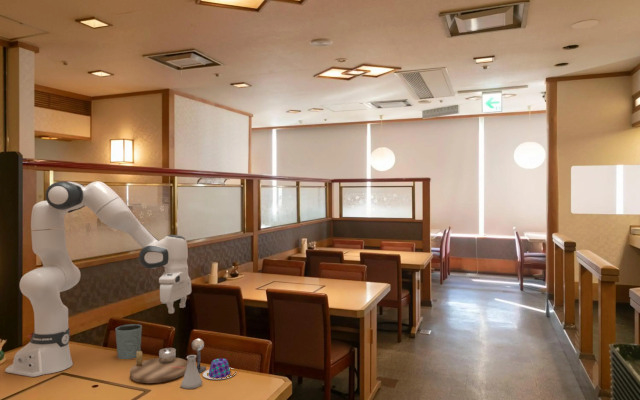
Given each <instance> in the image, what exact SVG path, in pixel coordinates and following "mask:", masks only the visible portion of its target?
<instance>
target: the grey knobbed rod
mask: <svg viewBox="0 0 640 400" xmlns="http://www.w3.org/2000/svg"><path fill="white" fill-rule="evenodd" d="M204 346H205V342H204V340H203V339H201V338H199V337H198V338H196V339H194V340H192V342H191V348H192V350H193V351H195V352H196V366H197V369H198V372H199V374H203V373H204V372H205V371H206V369H207V366H204V365H201V350H203V348H204Z"/></svg>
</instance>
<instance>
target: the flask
mask: <svg viewBox="0 0 640 400" xmlns="http://www.w3.org/2000/svg"><path fill="white" fill-rule="evenodd" d="M186 359H187V362H188V363H187V369H186V372H185V374H184V375H183V379H182V380H181V384H180V388H182V389H184V390H185V389H186V390H189V389H190V390H192V389H197V388H199V387H201V386H202V384H203V379H202V377H201V375H200V373H199V372H198V369H197V354H196V355H195V354H189V355H187V356H186Z"/></svg>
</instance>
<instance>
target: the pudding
mask: <svg viewBox="0 0 640 400" xmlns="http://www.w3.org/2000/svg"><path fill="white" fill-rule="evenodd" d="M230 368H231V369H234V368H232V367H230V365H229V360H228V359H226V358H215V359H213V360H211V363H210V366H209V369H207V370H206V369H205V370H204V371H203V372H202V376H203V377H204V378H205V379H209V380H214V379H216V378H218V379H221V378H222V379H221V380H224V379H229V378H232V376H230V375H231V373H230ZM207 373H209V374H208V376H207ZM229 374H230V375H229ZM236 374H237V372H236V373H235V374H234V375H236ZM227 375H229V376H230V377H228V376H227ZM234 375H233V376H234ZM226 376H227V378H226ZM223 377H225V378H223ZM213 378H214V379H213Z"/></svg>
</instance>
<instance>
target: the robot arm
mask: <svg viewBox="0 0 640 400" xmlns="http://www.w3.org/2000/svg"><path fill="white" fill-rule="evenodd" d="M84 207H87V208H88V209H89V210H91V211H92V212H93V214H94V215H95V216H96V217H97V218H98V219H99V220H100V221H101V222H102V223H104V224H105V225H106V226H108V227H109V228H111V229H115V230H117V231H118V230H119V231H122V232H124V233H126V234H127V235H129V236H130V237H131V238H132V239H134V241H135V242H137V243H136V244H138V245H139V246H140V247H142V249H141V250H140V252H139V255H138V260H139V263H140V264H141V265H142V267H144V268H146V269H157V268H159V267H160V268H161V267H164V272H163V274H162V275H161V276H160V277H159V278H158V283H159V284H160V285H159V301H160V303H161V304H163V305H164V304H165V305H166V307H167V309H168V310H167V311H168V314H174V313H175V307H174V302H176V301H178V300H180V301H179V308H182V309H184V308H186V302H187V299H188V298H187V296H188V295H191V293H192V281H191V277H190V276H189V266H188V258H189V253H188V252H189V250H188V249H189V248H188V242H187V239H186V238H185V237H184V236H182V235H179V234H167V235H166V236H165V237H164V238H162V239H158V238H157V237H155V236H154V235H153V234H152V233H151V232H150V231H149V230H148V229H147V228H146V227H145V226H144V224H142V222H140V221H139V220H138V218H137V216H135V215H134V213H133V212H132V210H131V209H130V207H128V205H127V203H126V202H125V201H124V200H123V198H121V197H120V195H119V194H117V192H115V190H114V189H112V188H111V187H110V186H108V185H107V184H106V183H105V182H102V181H99V180H98V181H97V180H96V181H91V182H90V183H88V184H87V185H86V186H85V185H83V184H81V183H79V182H75V181H61V180H60V181H57V182H54V183H52V184H50V185H49V186H48V187H47V189H46V191H45V200H41V201H39V202H36V203H35V204H34V205H33V206H32V210H31V218H30V233H31V234H30V235H31V247H32V252H33V254H35V255H36V256H38V258H39V259H40V261H41V263H42V267H38V268H34V269H32V270H30V271H28V272H27V273H25V274H24V275H22V277H21V278H20V281H19V290H20V292H21V294H22V295H23V296H25V297H26V298H27V299H28V300H29V301H30V304H31V306H32V310H33V316H34V331H33V332H32V333H29V334H27V338H28V339H29V338H30V341H29V342H28V343H27V344H26V345H25V346H23V347H22V348H21V349H19V350H18V351H17V352H15V354H14V357H13V362H12V364H10V365H9V366H7V367H6V368H5V373H7V374H8V373H10V374H14V375H20V376H25V377H30V378H34V377H35V378H36V377H39V376H43V375H49V374H53V373H58V372H61V371H64V370H67V369H70V368H71V367H72V366H73V365H74V363H73V359H72V355H71V351H70V343H69V342H70V327H69V308H68V307H67V306H66V305H65V304H64V303H63V302H62V299H61V293H62V292H65V291H68V290H70V289H72V288H74V287H75V286H77V285H78V283H79V282H80V280H81V278H82V277H81V271H80V269H79V267H78V266H76V265H75V264H74V263H73V261H72V259H71V257H70V254H69V252H68V248H67V247H68V246H67V238H66V227H65V226H66V225H65V216H66V214H67V213H68V214H69V213H70V214H71V213H73V212H75V211H78V210H80V209H83V208H84Z"/></svg>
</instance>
